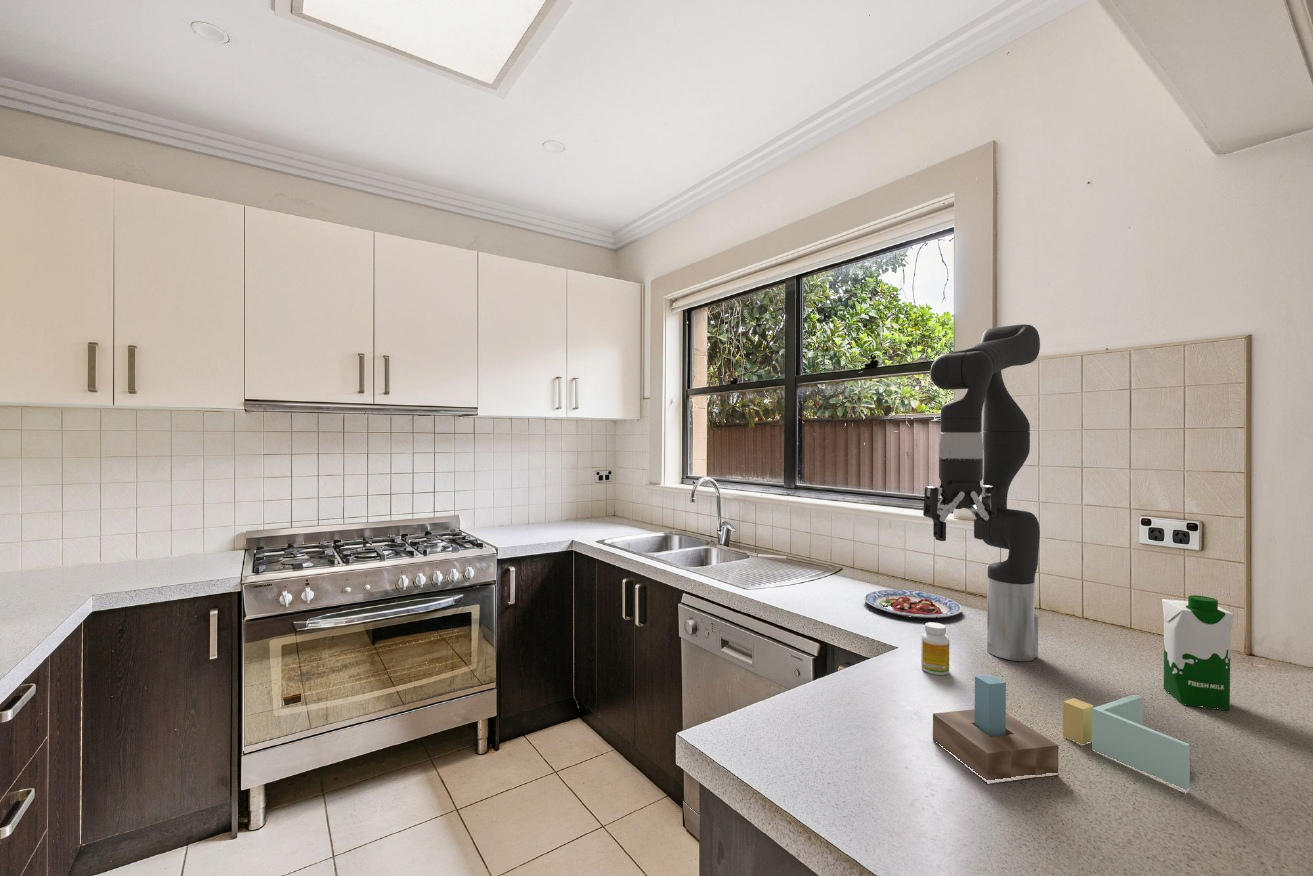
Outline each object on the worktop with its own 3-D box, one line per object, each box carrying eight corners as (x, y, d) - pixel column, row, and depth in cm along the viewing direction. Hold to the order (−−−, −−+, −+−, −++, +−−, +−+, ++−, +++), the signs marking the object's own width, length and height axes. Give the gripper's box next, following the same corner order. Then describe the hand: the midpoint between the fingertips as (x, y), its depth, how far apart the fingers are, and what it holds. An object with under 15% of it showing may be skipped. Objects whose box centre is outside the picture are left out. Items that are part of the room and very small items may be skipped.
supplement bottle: (952, 676, 120) (953, 630, 120) (924, 674, 121) (925, 628, 121) (945, 666, 125) (945, 622, 125) (918, 664, 126) (918, 620, 126)
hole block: (996, 733, 97) (996, 707, 97) (1058, 775, 85) (1058, 745, 85) (932, 740, 95) (932, 713, 95) (987, 784, 83) (987, 753, 83)
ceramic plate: (965, 605, 170) (965, 595, 170) (957, 630, 148) (957, 619, 148) (874, 592, 184) (874, 582, 184) (854, 613, 162) (854, 603, 162)
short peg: (1073, 733, 97) (1073, 698, 97) (1093, 741, 95) (1093, 705, 94) (1062, 737, 96) (1063, 701, 96) (1082, 746, 93) (1083, 709, 93)
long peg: (990, 749, 92) (991, 674, 92) (1005, 759, 89) (1005, 682, 89) (974, 751, 92) (974, 676, 92) (988, 761, 89) (989, 684, 89)
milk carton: (1179, 706, 107) (1180, 599, 107) (1155, 686, 115) (1156, 587, 115) (1239, 714, 104) (1240, 604, 104) (1210, 693, 112) (1211, 591, 112)
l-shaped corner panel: (1185, 798, 81) (1186, 745, 81) (1092, 754, 92) (1092, 708, 92) (1228, 777, 86) (1229, 727, 86) (1134, 738, 97) (1135, 694, 97)
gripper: (978, 455, 116) (978, 535, 116) (915, 455, 113) (914, 537, 114) (1007, 456, 109) (1007, 542, 109) (940, 457, 106) (940, 544, 106)
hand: (960, 539), depth 111 cm, fingers open, 8 cm apart
